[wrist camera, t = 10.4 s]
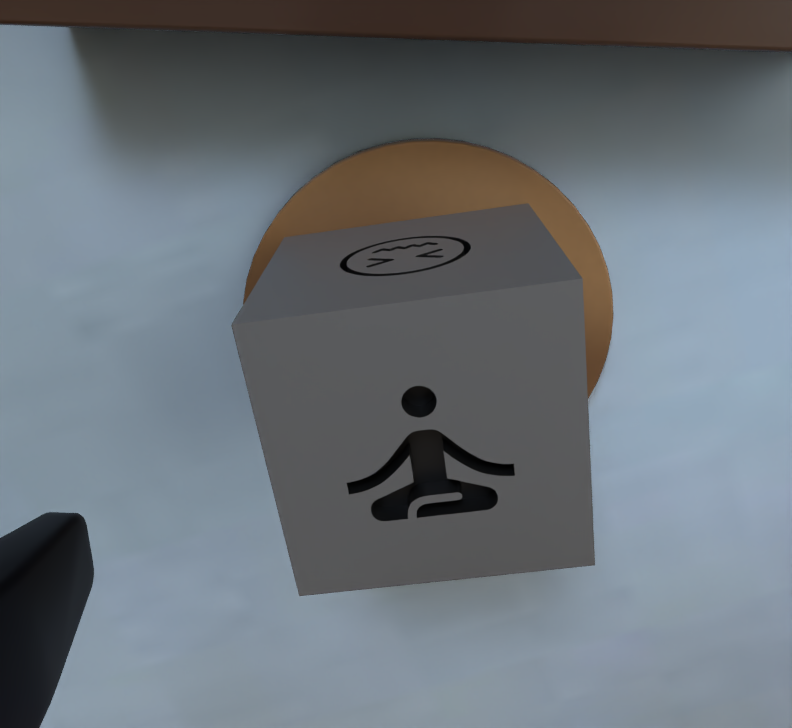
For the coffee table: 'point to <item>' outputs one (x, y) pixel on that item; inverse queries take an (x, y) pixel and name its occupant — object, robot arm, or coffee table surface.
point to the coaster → (445, 211)
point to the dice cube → (423, 400)
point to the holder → (443, 20)
